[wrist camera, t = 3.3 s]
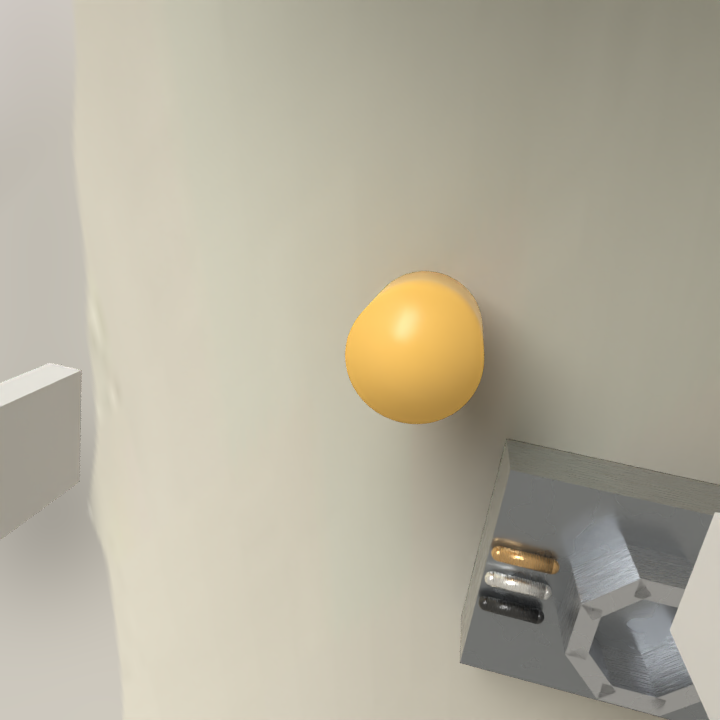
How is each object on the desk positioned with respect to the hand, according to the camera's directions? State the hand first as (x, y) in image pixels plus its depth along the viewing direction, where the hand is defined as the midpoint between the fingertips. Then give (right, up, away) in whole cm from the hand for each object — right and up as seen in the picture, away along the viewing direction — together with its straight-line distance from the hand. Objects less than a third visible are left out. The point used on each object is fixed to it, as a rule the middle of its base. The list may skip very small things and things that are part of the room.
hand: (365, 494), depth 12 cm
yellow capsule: (+3, +5, +17) cm, 18 cm away
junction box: (+12, -8, +19) cm, 23 cm away
